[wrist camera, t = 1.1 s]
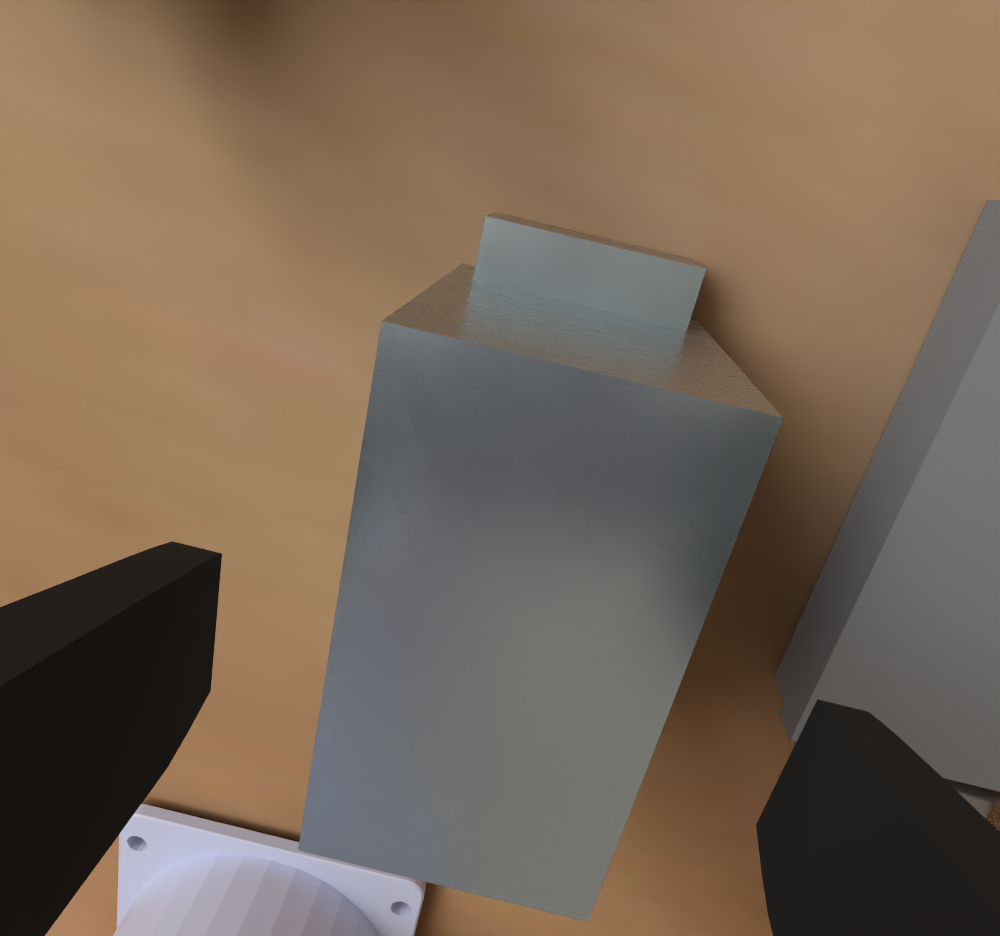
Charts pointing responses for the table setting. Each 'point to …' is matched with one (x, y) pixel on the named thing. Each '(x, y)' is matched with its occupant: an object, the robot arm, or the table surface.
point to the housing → (527, 564)
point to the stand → (922, 551)
